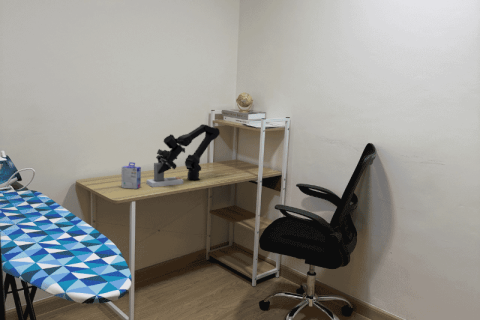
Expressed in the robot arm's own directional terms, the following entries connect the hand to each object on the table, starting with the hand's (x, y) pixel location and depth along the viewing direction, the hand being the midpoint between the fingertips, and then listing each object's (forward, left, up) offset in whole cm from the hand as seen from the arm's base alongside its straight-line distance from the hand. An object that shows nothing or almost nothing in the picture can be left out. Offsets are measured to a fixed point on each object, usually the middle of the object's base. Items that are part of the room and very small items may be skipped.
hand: (156, 172), depth 247 cm
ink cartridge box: (+16, 0, -8) cm, 17 cm away
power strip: (-5, 0, -7) cm, 9 cm away
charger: (-1, 0, -7) cm, 7 cm away
